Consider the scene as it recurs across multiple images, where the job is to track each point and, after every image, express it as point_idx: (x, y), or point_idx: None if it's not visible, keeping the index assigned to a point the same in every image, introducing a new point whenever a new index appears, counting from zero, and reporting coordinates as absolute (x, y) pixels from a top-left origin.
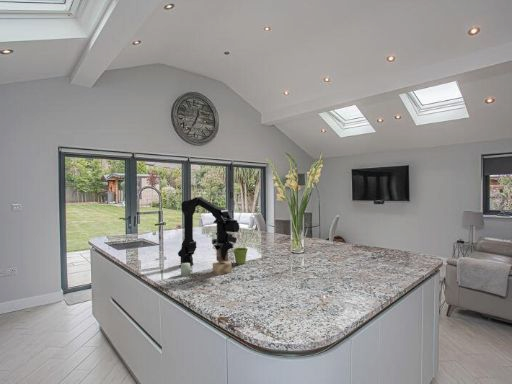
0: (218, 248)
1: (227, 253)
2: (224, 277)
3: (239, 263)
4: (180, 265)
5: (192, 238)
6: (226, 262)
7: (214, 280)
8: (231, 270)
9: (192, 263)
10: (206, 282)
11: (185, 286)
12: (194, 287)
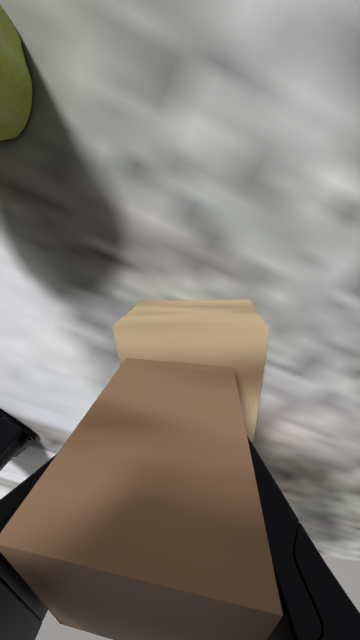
0: (12, 637)
1: (255, 487)
2: (322, 384)
3: (25, 107)
4: (16, 454)
5: None
6: (178, 345)
7: (328, 440)
8: (252, 305)
9: (2, 423)
10: (325, 472)
11: (306, 526)
12: (348, 517)
